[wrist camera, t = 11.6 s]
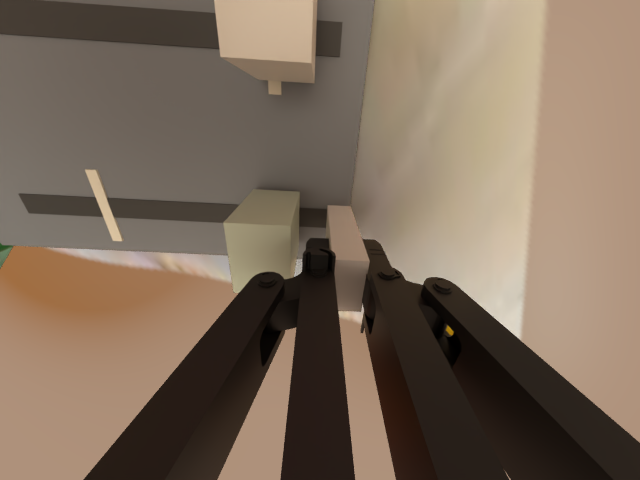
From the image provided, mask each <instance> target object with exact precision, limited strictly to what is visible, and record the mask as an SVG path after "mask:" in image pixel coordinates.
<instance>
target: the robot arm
mask: <svg viewBox="0 0 640 480" xmlns="http://www.w3.org/2000/svg"><path fill="white" fill-rule="evenodd" d="M362 303H363V307H364V314H363V320H362V325H361V333H363V331H364V328H365V333H366V337H367V343H368V347H369V352H370V357H371V362H372V367H373V371H374V376H375V381H376V385H377V390H378V395H379V400H380V405H381V410H382V414H383V419H384V424H385V429H386V433H387V438H388V443H389V448H390V453H391V458H392V462H393V467H394V472H395V477H396V480H509V478H508V477H507V475H506V473H507V474H508V476H509V477H510V478H511V480H640V443H639V442H638V441H637V440H636V439H635V438H633V437H632V436H631V435H630V434H629V433H628V432H626V431H625V430H624V429H623V428H622V427H621V426H619V425H618V424H617V423H616V422H615V421H614V420H612V419H611V418H610V417H609V416H608V415H606V414H605V413H604V412H603V411H602V410H601V409H600V408H598V407H597V406H596V405H595V404H593V402H591V401H590V400H589V399H588V398H587V397H585V395H583V394H582V393H581V392H580V391H579V390H577V389H576V388H575V387H574V386H573V385H572V384H570V383H569V382H568V381H567V380H566V379H565V378H564V377H562V376H561V375H560V374H559V373H558V372H557V371H555V370H554V369H553V368H552V367H551V366H550V365H548V364H547V363H546V362H545V361H544V360H543V359H541V358H540V357H539V356H538V355H537V354H536V353H534V352H533V351H532V350H531V349H530V348H529V347H527V346H526V345H525V344H524V343H523V342H521V341H520V340H519V339H518V338H517V337H516V336H515V335H513V334H512V333H511V332H510V331H509V330H508V329H506V328H505V327H504V326H503V325H502V324H501V323H499V322H498V321H497V320H496V319H495V318H494V317H492V316H491V315H490V314H489V313H488V312H487V311H485V310H484V309H483V308H482V307H481V306H480V305H478V304H477V303H476V302H475V301H474V300H473V299H471V298H470V297H469V296H468V295H467V294H466V293H464V292H463V291H462V290H461V289H460V288H459V287H457V286H456V285H455V284H453V283H452V282H450V281H448V280H446V279H443V278H438V277H431V278H427V279H426V280H425V281H424V284H423V285H420V284H416V283H412V282H409V281H406V280H405V278H404V276H403V275H402V274H401V272H399V271H398V270H396V269H394V268H392V267H391V265H390V263H389V261H388V259H387V257H386V255H385V252H384V251H383V248H382V246H381V244H379V243H378V242H377V241H376V240H367V239H362V237H361V234H360V232H359V229H358V226H357V223H356V220H355V217H354V214H353V211H352V209H351V206H337V205H328V207H327V222H326V237H325V238H310V239H309V240H308V241H307V242H306V251H304V253H303V265H302V272H301V274H299V275H298V276H296V277H293V278H289V279H284V278H283V276H281V275H280V274H279V273H276V272H262V273H259V274H257V275H255V276H254V277H252V278H251V279H250V280H249V282H248V283H247V284H246V285H245V286H244V288H243V289H242V290H241V291H240V292H239V294H238V295H237V296H236V297H235V298H234V300H233V301H232V302H231V303H230V304H229V306H228V307H227V308H226V309H225V310H224V312H223V313H222V314H221V315H220V316H219V318H218V319H217V320H216V321H215V323H214V324H213V325H212V326H211V327H210V329H209V330H208V331H207V332H206V333H205V334H204V336H203V337H202V338H201V339H200V340H199V342H198V343H197V344H196V345H195V346H194V348H193V349H192V350H191V351H190V352H189V354H188V355H187V356H186V357H185V359H184V360H183V361H182V362H181V363H180V364H179V366H178V367H177V368H176V369H175V370H174V372H173V373H172V374H171V375H170V376H169V378H168V379H167V380H166V381H165V382H164V384H163V385H162V386H161V387H160V388H159V390H158V391H157V392H156V393H155V394H154V396H153V397H152V398H151V399H150V400H149V402H148V403H147V404H146V405H145V406H144V408H143V409H142V410H141V412H140V413H139V414H138V415H137V416H136V417H135V419H134V420H133V421H132V422H131V423H130V425H129V426H128V427H127V428H126V429H125V431H124V432H123V433H122V434H121V435H120V437H119V438H118V439H117V440H116V442H115V443H114V444H113V445H112V446H111V447H110V449H109V450H108V451H107V452H106V453H105V455H104V456H103V457H102V458H101V459H100V461H99V462H98V463H97V464H96V465H95V467H94V468H93V469H92V470H91V472H90V473H89V474H88V475H87V476H86V477H85V479H84V480H217V479H218V476H219V474H220V472H221V470H222V468H223V466H224V464H225V462H226V459H227V457H228V455H229V453H230V451H231V449H232V446H233V444H234V442H235V440H236V438H237V436H238V433H239V431H240V429H241V427H242V425H243V423H244V420H245V418H246V416H247V414H248V412H249V410H250V407H251V405H252V403H253V401H254V399H255V397H256V395H257V392H258V390H259V388H260V386H261V384H262V382H263V379H264V377H265V375H266V373H267V371H268V369H269V366H270V364H271V362H272V360H273V358H274V356H275V353H276V351H277V349H278V347H279V345H280V343H281V340H282V338H283V336H284V334H285V330H287V329H291V328H295V327H297V328H296V337H295V347H294V356H293V366H292V375H291V385H290V395H289V404H288V413H287V423H286V432H285V442H284V452H283V462H282V471H281V480H355V474H354V464H353V454H352V444H351V436H350V425H349V414H348V404H347V394H346V384H345V374H344V364H343V355H342V344H341V334H340V324H339V314H338V311H359V312H361V308H362ZM447 326H449V327H450V328H451V329H452V330H453V332H454V333H453V335H450V334H449V333H448V332H447V331H446V329H447ZM504 470H505V471H506V473H505V471H504Z"/></svg>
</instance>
